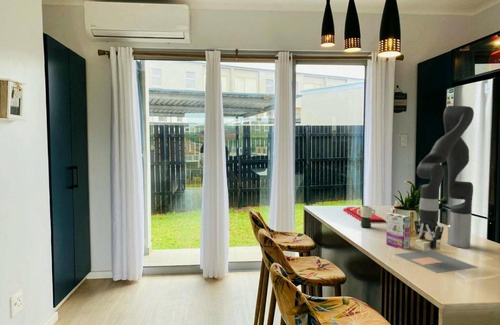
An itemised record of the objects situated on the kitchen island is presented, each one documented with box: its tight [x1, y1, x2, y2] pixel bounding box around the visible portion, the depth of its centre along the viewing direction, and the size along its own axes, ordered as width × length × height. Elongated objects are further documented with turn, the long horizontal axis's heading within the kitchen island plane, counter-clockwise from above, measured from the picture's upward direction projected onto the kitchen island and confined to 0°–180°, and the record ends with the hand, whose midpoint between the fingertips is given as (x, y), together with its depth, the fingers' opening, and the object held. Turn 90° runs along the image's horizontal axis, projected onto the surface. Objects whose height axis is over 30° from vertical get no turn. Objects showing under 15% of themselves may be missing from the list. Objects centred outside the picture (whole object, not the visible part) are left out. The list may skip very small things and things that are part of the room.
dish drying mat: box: [343, 206, 387, 223], centre depth 243 cm, size 16×41×4 cm, turn 4°
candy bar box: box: [386, 212, 412, 250], centre depth 170 cm, size 11×5×16 cm, turn 23°
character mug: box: [357, 205, 376, 228], centre depth 211 cm, size 11×7×13 cm, turn 82°
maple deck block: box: [414, 237, 441, 251], centre depth 147 cm, size 9×5×4 cm, turn 108°
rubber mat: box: [394, 250, 478, 274], centre depth 149 cm, size 24×22×1 cm
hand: (427, 246), depth 147 cm, fingers closed on maple deck block, 5 cm apart
